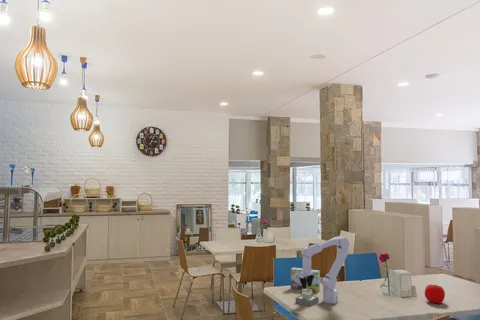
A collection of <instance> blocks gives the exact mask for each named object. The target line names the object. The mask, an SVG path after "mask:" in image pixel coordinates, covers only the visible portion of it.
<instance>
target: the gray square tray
mask: <svg viewBox="0 0 480 320" xmlns="http://www.w3.org/2000/svg"><path fill="white" fill-rule="evenodd" d="M301 296H302V294H300V295H298V296H297V297H295V304H300V305H305V306H309V307H310V306H311V307H312V306H314V305H316V304H317V303H319V300H320V299H319V296H317V295H316V296H315V295H312V297H316V298H314V299H312V300H306V299H301V298H299V297H301Z"/></svg>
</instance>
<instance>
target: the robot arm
mask: <svg viewBox="0 0 480 320" xmlns="http://www.w3.org/2000/svg"><path fill="white" fill-rule="evenodd" d="M331 246H336V248H337V249H338V254H337V256H336V257H335V260H334V262H333V263H332V266H331V267H330V269H329V272H327V273H326V274H325V276H324V277H322V279H320V284H321V285H322V302H323V303H327V304H333V305H335V304H337V303H339V290H337V289H335V288H336V284H337V281H338V280H337V276H338V275H339V272H340V270H341V268H342V267H343V264H345V261H346V259H347V257H348V255H349V251H350V250H349V246H350V241H349V239H348V238H347V237H344V236H343V237H342V236H340V235H337V236H335V237H332V238H331V239H328V240H326V241H324V242H322V243H319V242H314V244H313V245H308V247H303V248H302V250H301V252H300V254H301V255H302V269H303V272H301V275H300V277H299V279H300V281H301V284H302V288H303V289H306V285H307V284H308V286H309V287H311V285H312V281H313V279H314V275H313V272H312V271H311V270H312V257H313V256H314V255H316V254H319V253H320V252H322V251H323V249H326V248H329V247H331ZM305 277H306V278H305Z"/></svg>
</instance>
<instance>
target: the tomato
mask: <svg viewBox="0 0 480 320" xmlns="http://www.w3.org/2000/svg"><path fill="white" fill-rule="evenodd" d="M445 296H446V292H445V289H444V288H443V287H442V286H440V285H438V284H437V285H436V284H428V285H427V286H425V288H424V298H425V299H426V300H427V301H428V302H430V303H434V304H441V303H443V302H444V300H445Z"/></svg>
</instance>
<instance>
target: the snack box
mask: <svg viewBox="0 0 480 320" xmlns="http://www.w3.org/2000/svg"><path fill="white" fill-rule="evenodd" d="M311 271H312V272H313V275H314V279H313V281H312V285H311V287H309V286H308V284H307V285H306V289H311V290H312V293H319V292H320V291H321V270H319V269H318V270H317V269H311ZM301 272H303V267H292V268H290V289H291V290H299V291H302V290H304V289H303V288H302V284H301V281H300V279H299V277H300V275H301ZM305 278H306V277H305Z"/></svg>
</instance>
